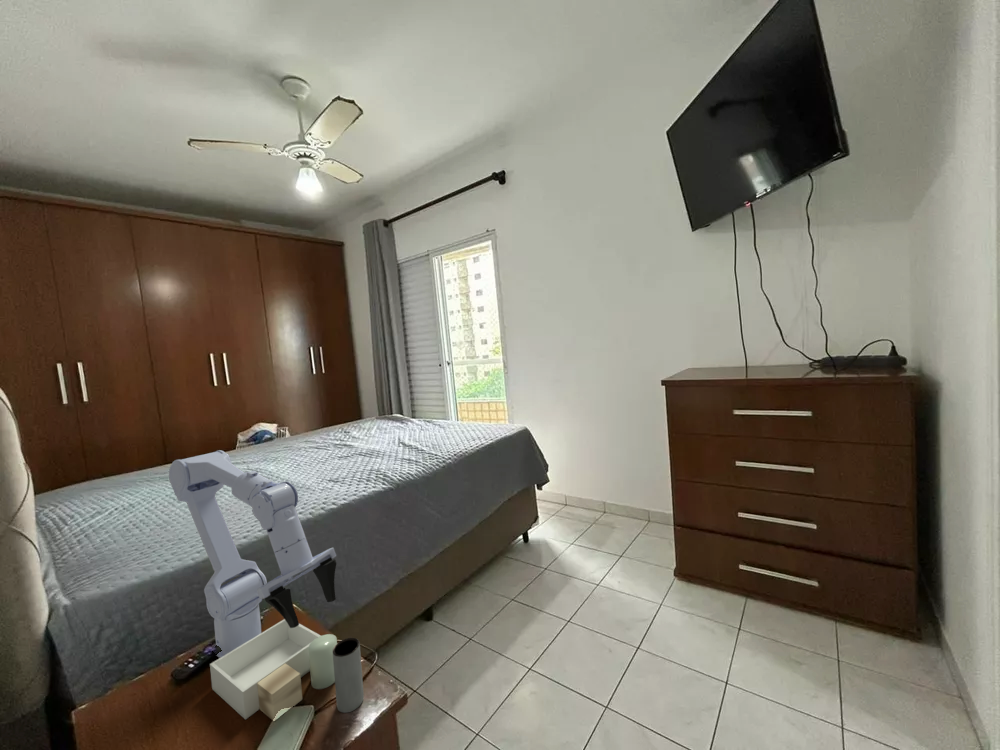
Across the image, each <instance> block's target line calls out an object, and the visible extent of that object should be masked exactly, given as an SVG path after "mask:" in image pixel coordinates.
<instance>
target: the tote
mask: <svg viewBox="0 0 1000 750" xmlns="http://www.w3.org/2000/svg"><path fill="white" fill-rule="evenodd" d="M320 636H322V635H320V634H319V633H317V632H316V631H314V630H311V629H310V628H308V627H306V626H305V625H303V624H301V623H299V625H298V626H297V627H295V628H290V627H289V625H288V623H287V622H286V620H285V619H284V618H283V619H282V620H280V621H279V622H277V623H275V624H274V625H272V626H271V627H269V628H267V629H266V630H264V631H261V634H259V635H257V636H256V637H254V638H252V639H251V640H249V641H247V642H246V643H244V644H242V645H241V646H239V647H237V648H236V649H234V650H232V651H231V652H229V653H228V654H226V655H224V656H223V657H221V658H219V657H218V659H216V660H214V661H212V662H211V663H209V667H210V682H211V688H212V691H214V692H215V693H216V694H217V695H218V696H219V697H220V698H221V699H222V700H223V701H225V703H227V704H228V706H230V707H231V708H232V709H233V710H235V712H237V714H238V715H240V716H241V717H242V718H243V719H244V720H247V719H249V717H251V716H253V715H254V714H255V713H256V712H257V711H260V708H259V697H258V686H257V683H258V682H259V681H261V680H262V679H264V678H265V677H266V676H268V675H269V674H271V673H272V672H274V671H275V670H276V669H278V668H279V667H281V666H282V665H284V664H285V663H286V664H287V665H288V666H290V667H291V668H293V669H294V670H296V671H297V672H299V673H300V677H301V678H302V677H304V676H305V675H307V674H308V673H309V672H310V662H309V650H308V647H309V645H310V643H311V642H312V641H313V640H315V639H316V638H318V637H320Z"/></svg>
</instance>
